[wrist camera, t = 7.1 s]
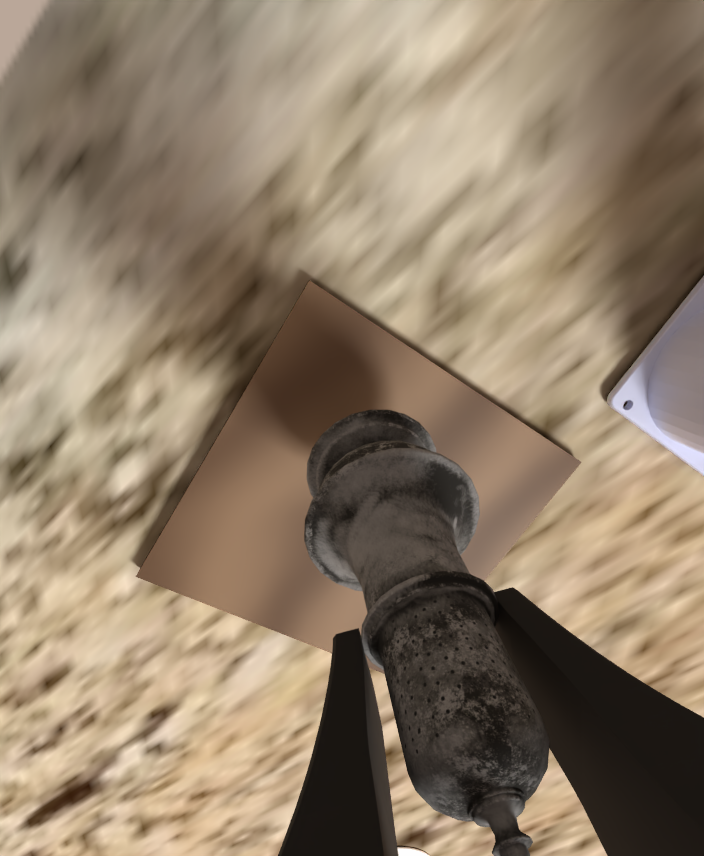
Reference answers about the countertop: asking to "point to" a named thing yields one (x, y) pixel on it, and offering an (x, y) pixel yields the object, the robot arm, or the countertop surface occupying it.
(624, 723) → the robot arm
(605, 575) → the countertop surface
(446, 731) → the dark grey turned piece
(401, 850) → the teacup and saucer
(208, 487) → the walnut board
